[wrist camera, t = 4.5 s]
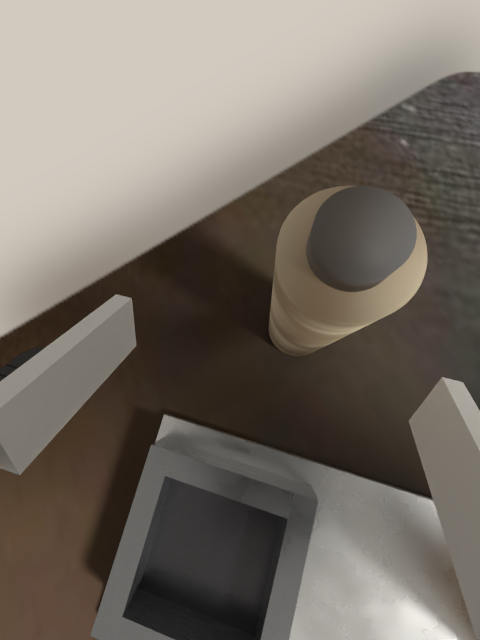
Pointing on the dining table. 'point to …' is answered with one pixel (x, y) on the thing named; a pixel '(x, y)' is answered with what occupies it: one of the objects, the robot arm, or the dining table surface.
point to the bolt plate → (274, 550)
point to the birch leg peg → (342, 266)
